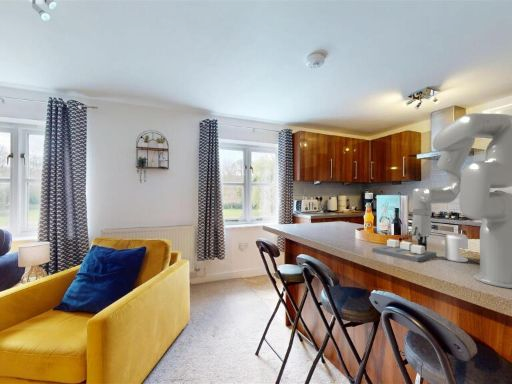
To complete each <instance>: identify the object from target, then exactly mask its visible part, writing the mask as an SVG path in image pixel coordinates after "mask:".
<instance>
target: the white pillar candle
mask: <svg viewBox="0 0 512 384" xmlns="http://www.w3.org/2000/svg"><path fill="white" fill-rule="evenodd" d="M468 241H469V239H468V237H467V235H466V234H462V233H456V232H455V233H453V232H450V233H449V232H448V233H446V235H445V236H444V258H445V259H446V260H448V261H450V262H455V263H465V262H466V263H467V262H468V261H469V258H468V259H466V258H464V257H463V256H461V255H460V254H458V251H457V250H458V249H459V248H462V249H469V242H468Z"/></svg>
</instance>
